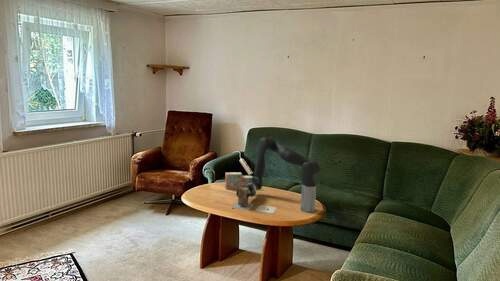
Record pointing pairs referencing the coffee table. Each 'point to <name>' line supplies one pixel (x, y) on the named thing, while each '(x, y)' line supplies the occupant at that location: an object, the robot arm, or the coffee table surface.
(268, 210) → the white tile
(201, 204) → the coffee table surface
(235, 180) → the stack of blocks
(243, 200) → the walnut block
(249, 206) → the grey mat
